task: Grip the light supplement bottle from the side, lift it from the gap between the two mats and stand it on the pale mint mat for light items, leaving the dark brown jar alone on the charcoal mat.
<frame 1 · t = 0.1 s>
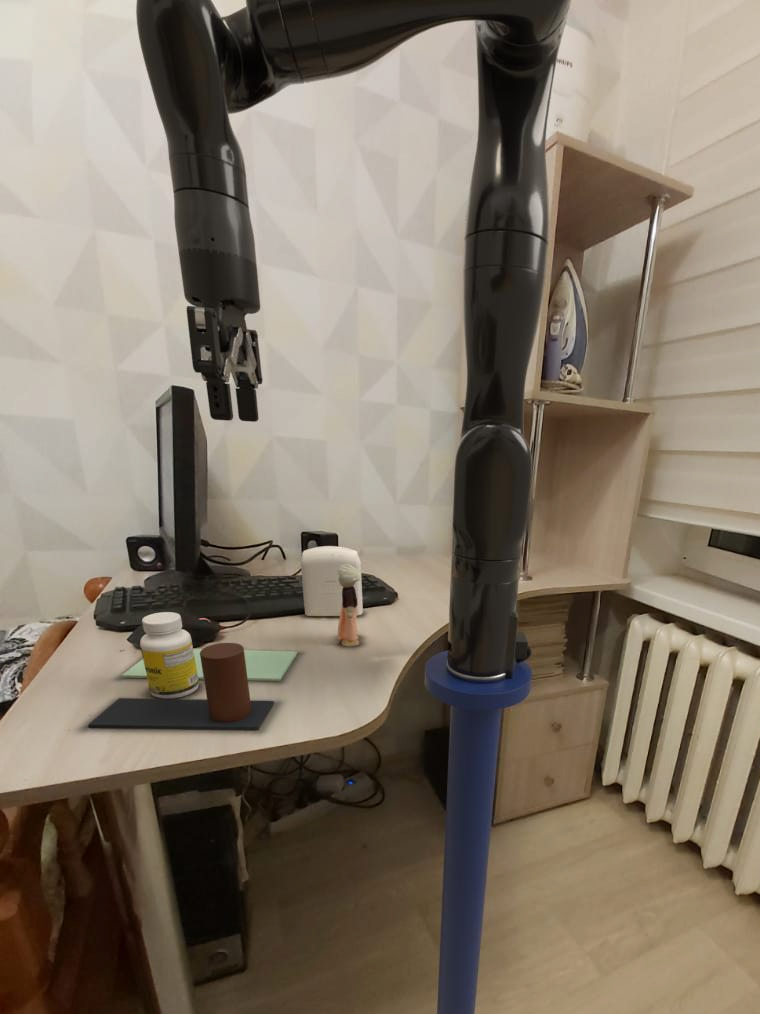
hand: (236, 420, 61), 32 cm above the table, tool pointing down, fingers open, 8 cm apart
brown jar: (230, 712, 60), resting on dark mat
supplement bottle: (175, 691, 65), on the table
photo printer: (333, 614, 94), on the table
grandmother figurine: (350, 643, 82), on the table
pale mat: (215, 664, 72), on the table
dark mat: (186, 715, 60), on the table
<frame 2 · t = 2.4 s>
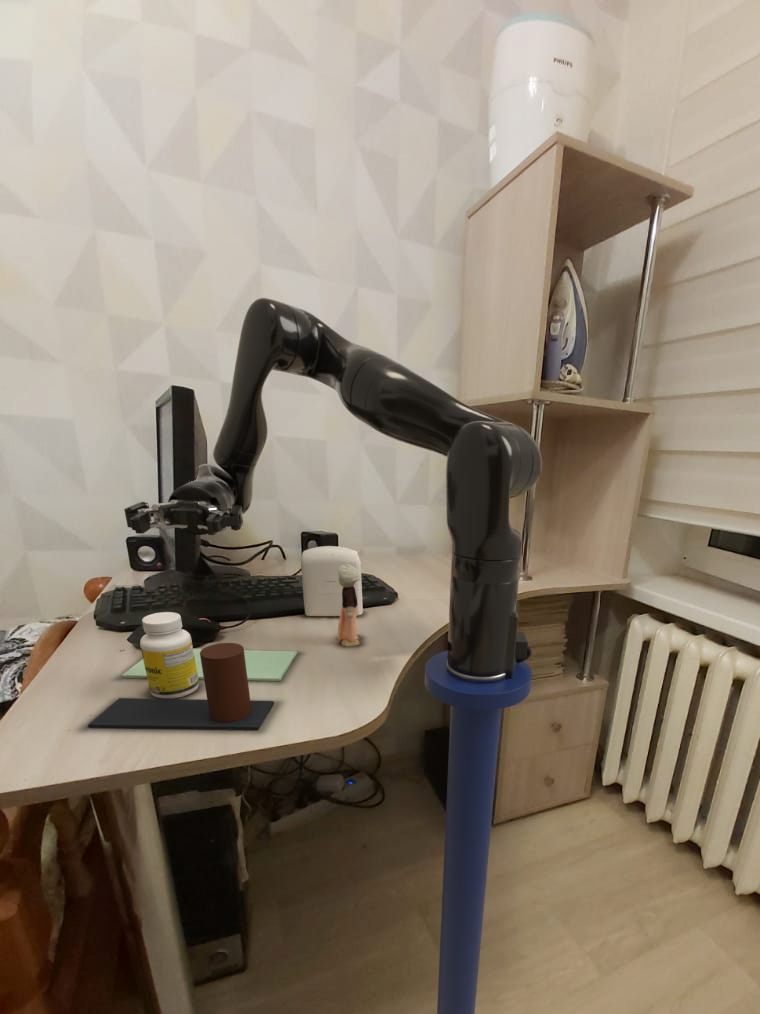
hand: (174, 526, 67), 19 cm above the table, tool horizontal, fingers open, 8 cm apart
nothing on the table moved.
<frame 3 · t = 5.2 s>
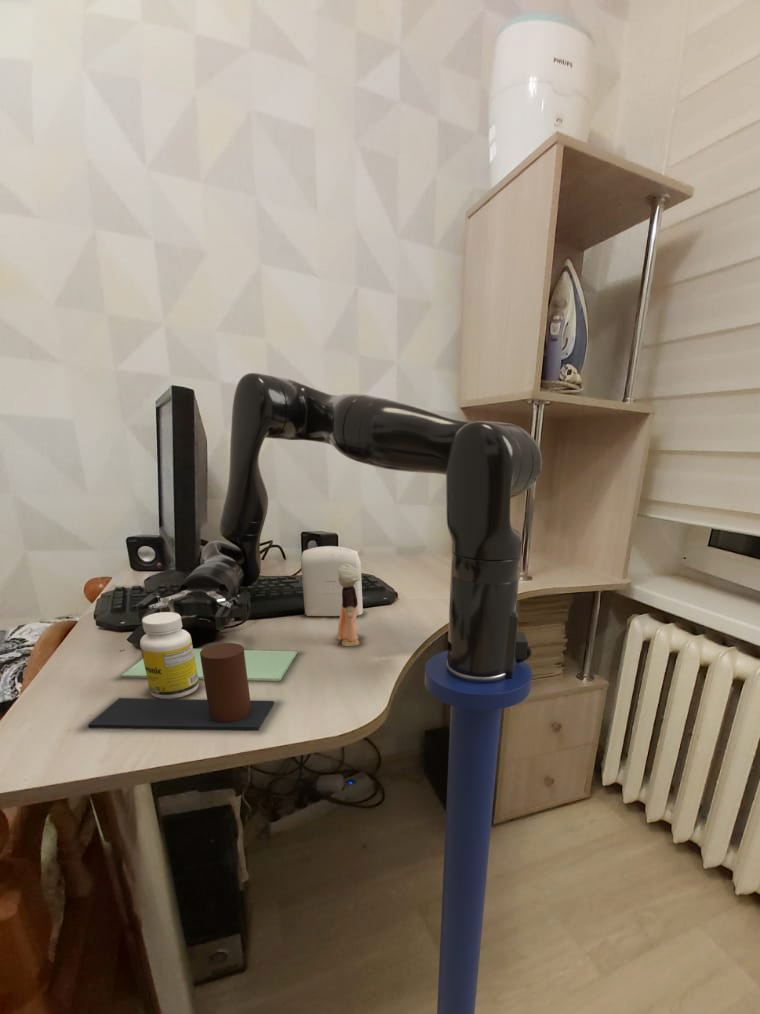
hand: (184, 624, 69), 6 cm above the table, tool horizontal, fingers open, 8 cm apart
nothing on the table moved.
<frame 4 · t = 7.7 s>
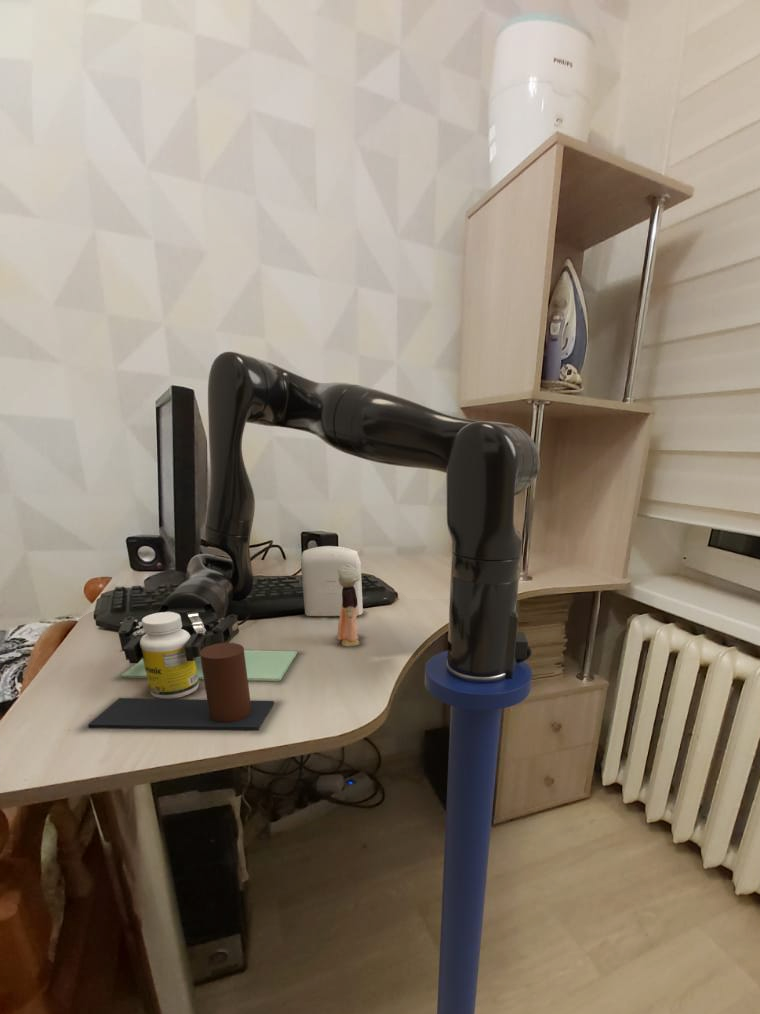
hand: (160, 654, 60), 6 cm above the table, tool horizontal, fingers closed on supplement bottle, 5 cm apart
supplement bottle: (175, 691, 65), on the table, touching gripper
everything else where it was.
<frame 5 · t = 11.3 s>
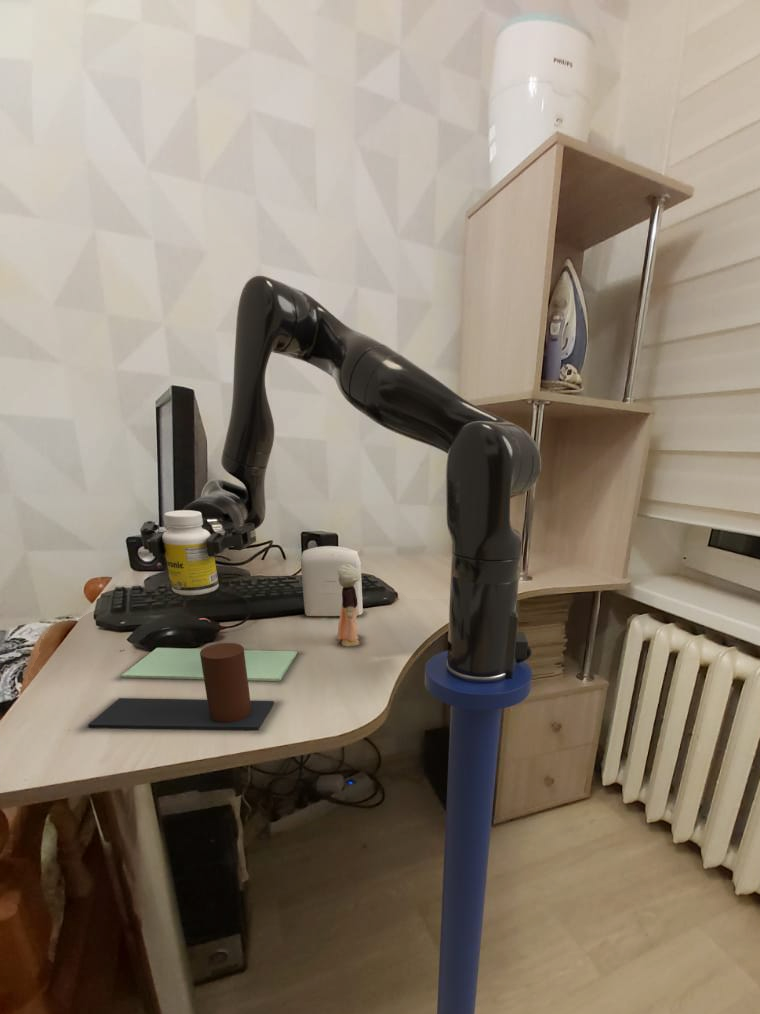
hand: (183, 548, 62), 17 cm above the table, tool horizontal, fingers closed on supplement bottle, 5 cm apart
supplement bottle: (196, 591, 66), point 11 cm above the table, touching gripper
everything else where it was.
when the fingers open (6 cm above the table, at t = 14.9 s): supplement bottle stays where it is, resting on pale mat.
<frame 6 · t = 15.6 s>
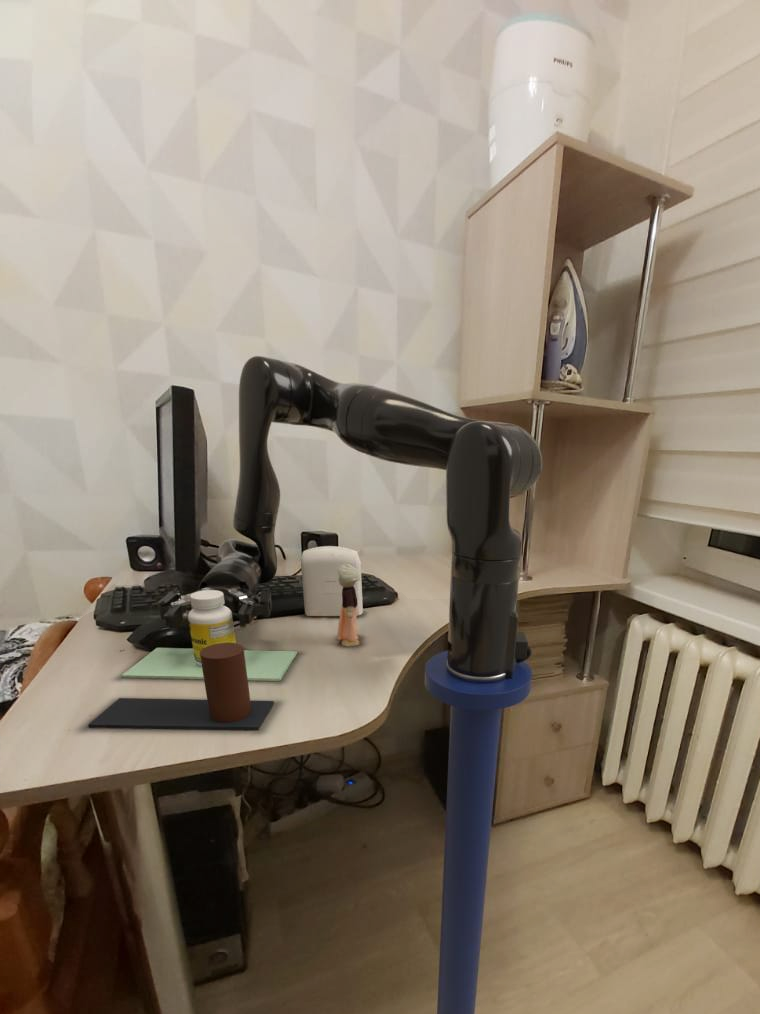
hand: (207, 621, 68), 7 cm above the table, tool horizontal, fingers open, 8 cm apart
supplement bottle: (217, 661, 73), resting on pale mat
everything else where it was.
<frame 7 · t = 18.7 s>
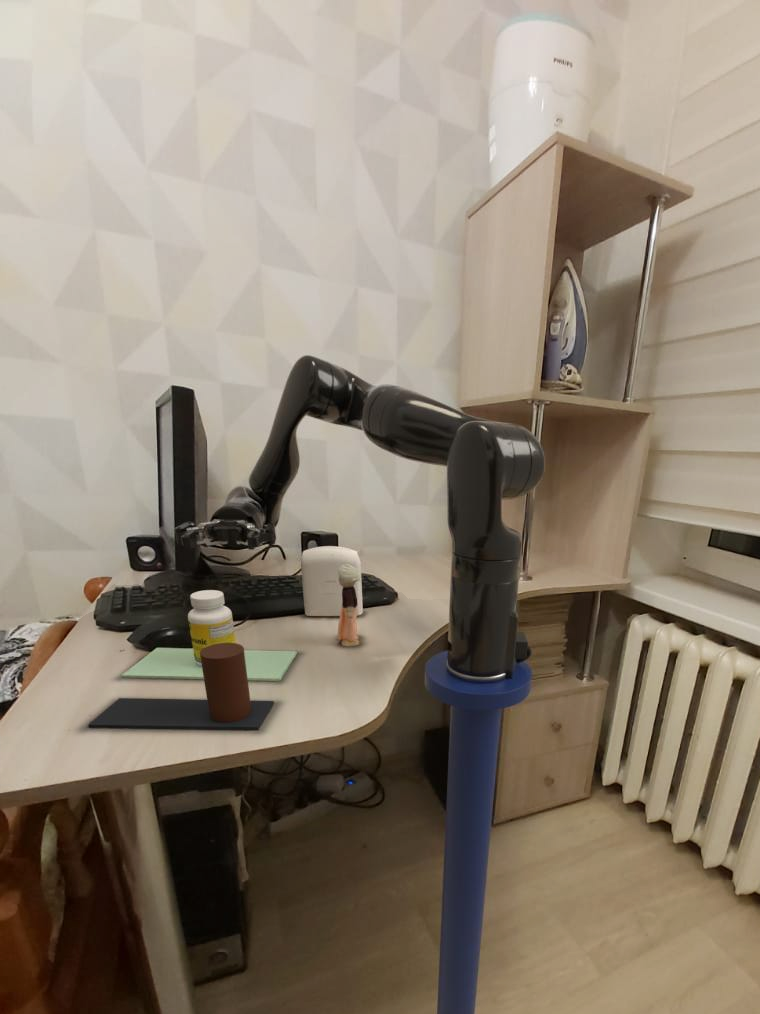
hand: (219, 542, 77), 15 cm above the table, tool horizontal, fingers open, 8 cm apart
nothing on the table moved.
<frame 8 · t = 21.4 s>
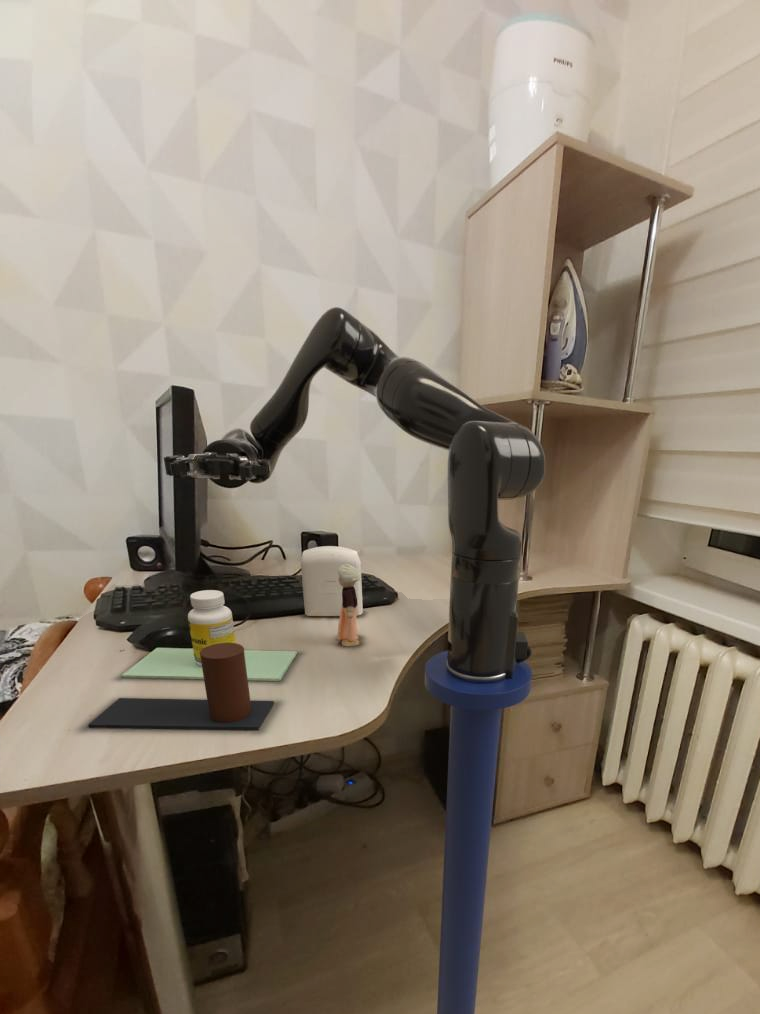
hand: (210, 471, 73), 25 cm above the table, tool horizontal, fingers open, 8 cm apart
nothing on the table moved.
at the end: supplement bottle inside the target area (0.6 cm from its centre), resting on pale mat; supplement bottle tilted 0°; brown jar moved 0.0 cm from its start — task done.
